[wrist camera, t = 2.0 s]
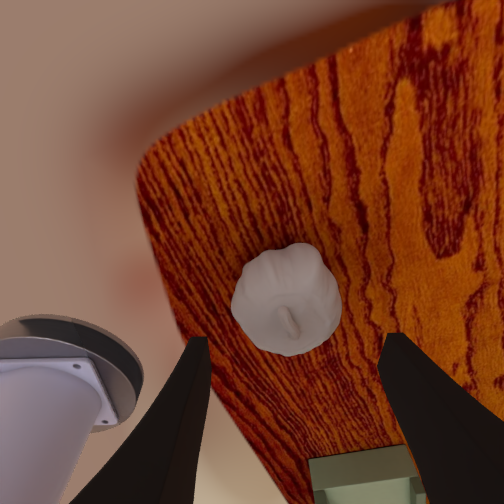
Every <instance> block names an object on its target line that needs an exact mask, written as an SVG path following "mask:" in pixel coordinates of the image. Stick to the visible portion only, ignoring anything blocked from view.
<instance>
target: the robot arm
mask: <svg viewBox="0 0 504 504" xmlns="http://www.w3.org/2000/svg"><path fill="white" fill-rule="evenodd" d="M377 368H378V371H379V375H380V378H381V382H382V385H383V388H384V391H385V393H386V396H387V398H388V400H389V403H390V405H391V407H392V410H393V412H394V414H395V416H396V419H397V421H398V423H399V425H400V428H401V430H402V432H403V434H404V436H405V439H406V441H407V443H408V445H409V448H410V450H411V452H412V455H413V457H414V459H415V462H416V464H417V467H418V470H419V473H420V476H421V478H422V481H423V484H424V487H425V490H426V493H427V496H428V499H429V502H430V504H504V422H503V421H502V420H501V419H500V418H498V417H497V416H496V415H494V414H493V413H492V412H491V411H489V410H488V409H487V408H486V407H484V406H483V405H482V404H481V403H480V402H478V401H477V400H476V399H475V398H474V397H472V396H471V395H470V394H469V393H468V392H466V391H465V390H464V389H463V388H462V387H461V386H460V385H458V384H457V383H456V382H455V381H454V380H453V379H452V378H451V377H449V376H448V375H447V374H446V373H445V372H444V371H443V370H442V369H441V368H440V367H439V366H438V365H436V364H435V363H434V362H433V361H432V360H431V359H430V358H429V357H428V356H427V355H426V354H425V353H424V352H423V351H422V350H421V349H420V348H419V347H418V346H417V345H415V344H414V343H413V342H412V341H411V340H410V339H409V338H408V337H407V336H406V335H405V334H404V333H387V337H386V340H385V343H384V346H383V349H382V352H381V355H380V359H379V362H378V365H377ZM211 373H212V368H211V361H210V353H209V346H208V339H207V337H191V338H190V339H189V341H188V343H187V346H186V348H185V350H184V352H183V354H182V355H181V357H180V359H179V361H178V363H177V365H176V366H175V368H174V370H173V372H172V373H171V375H170V377H169V378H168V380H167V382H166V384H165V385H164V387H163V388H162V390H161V391H160V393H159V395H158V396H157V397H156V399H155V401H154V402H153V404H152V405H151V407H150V408H149V409H148V411H147V412H146V414H145V415H144V416H143V418H142V419H141V421H140V422H139V423H138V425H137V426H136V427H135V429H134V430H133V431H132V432H131V434H130V435H129V436H128V438H127V439H126V440H125V441H124V442H123V444H122V445H121V446H120V448H119V449H118V450H117V451H116V452H115V453H114V455H113V456H112V457H111V458H110V459H109V461H108V462H107V463H106V464H105V465H104V467H102V469H101V470H100V471H99V472H98V473H97V474H96V475H95V476H94V477H93V478H92V480H91V481H90V482H89V483H88V484H87V485H86V486H85V487H84V488H83V489H82V490H81V491H80V493H79V494H78V495H77V496H76V497H75V498H74V499H73V500H72V501H71V502H70V503H69V504H193V501H194V491H195V481H196V471H197V464H198V457H199V452H200V446H201V441H202V435H203V430H204V424H205V419H206V414H207V408H208V402H209V396H210V386H211ZM118 419H119V417H118V415H117V413H116V411H115V408H114V406H113V404H112V402H111V400H110V397H109V395H108V393H107V391H106V389H105V386H104V384H103V382H102V380H101V378H100V375H99V373H98V371H97V369H96V367H95V364H94V362H93V361H92V360H91V359H90V358H86V357H77V358H31V359H0V504H59V503H60V501H61V498H62V496H63V494H64V491H65V489H66V487H67V485H68V482H69V480H70V478H71V475H72V473H73V471H74V469H75V466H76V464H77V462H78V459H79V457H80V455H81V453H82V450H83V448H84V446H85V443H86V441H87V439H88V437H89V434H90V432H91V430H92V428H93V425H114V424H117V422H118Z"/></svg>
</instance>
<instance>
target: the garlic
mask: <svg viewBox="0 0 504 504" xmlns="http://www.w3.org/2000/svg"><path fill="white" fill-rule="evenodd" d="M231 312H232V315H233V317H234V318H235V319H236V321H237V322H238V323H239V324H240V326H241V328H242V329H243V331H244V332H245V334H246V335H247V336H248V337H249V338H250V339H251V341H252V342H253V343H254V344H255V345H256V346H257V347H258V348H259V349H262V350H266V351H270V352H272V353H277V354H282V355H284V356H293V355H296V354H303V353H306V352H307V351H310V350H311V349H312V348H314V347H317V346H319V345H320V344H322V342H323V341H325V340H327V339H328V338H329V337H330V336H331V335H332V333H333V332H334V331H335V329H336V328H337V326H338V325H339V322H340V316H341V312H342V301H341V296H340V293H339V291H338V285H337V282H336V279H335V278H334V276H333V275H332V273H331V272H330V271H329V270H328V268H327V267H326V266H325V265H324V263H323V262H322V258H321V255H320V253H319V251H318V250H317V249H316V248H315V247H314V246H312V245H310V244H307V243H294V244H292V245H289V246H288V247H286V248H285V249H280V250H267V251H264V252H262V253H261V254H260V255H259V256H258V257H256V258H255V259H253V260H252V261H250V262H248V263H247V264H245V266H244V267H243V271H242V276H241V277H240V278H239V280H238V282H237V285H236V288H235V293H234V295H233V298H232V302H231Z"/></svg>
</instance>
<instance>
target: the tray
mask: <svg viewBox="0 0 504 504" xmlns="http://www.w3.org/2000/svg"><path fill="white" fill-rule="evenodd" d="M308 461H309V467H310V474H311V480H312V486H313V491H314V492H313V493H314V499H315V504H426V492H425V490H424V487H423V485H422V483H421V480H420V478H419V476H418V473H417V471H416V468H415V466H414V464H413V461H412V459H411V457H410V454H409V452H408V450H407V447H406V445H405V444H404V445H398V446H391V447H385V448H379V449H372V450H366V451H359V452H353V453H347V454H340V455H334V456H327V457H321V458H315V459H309V460H308Z"/></svg>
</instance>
